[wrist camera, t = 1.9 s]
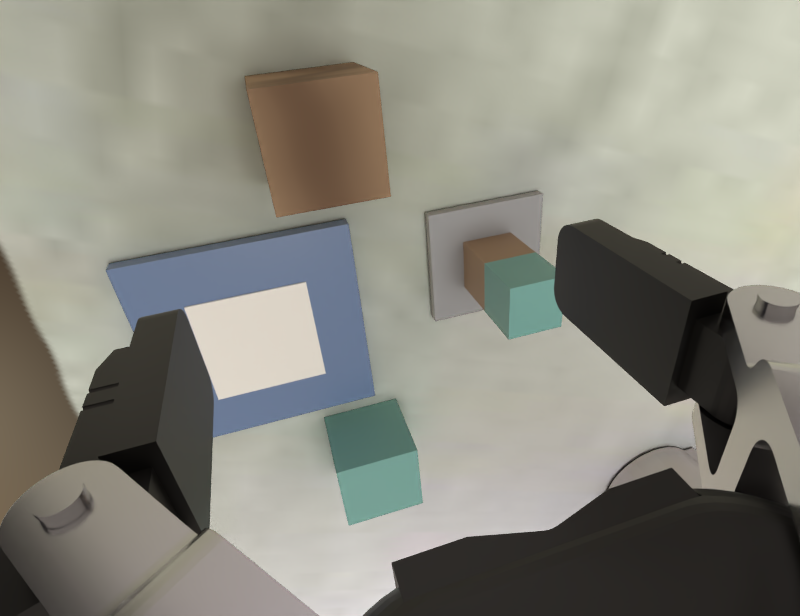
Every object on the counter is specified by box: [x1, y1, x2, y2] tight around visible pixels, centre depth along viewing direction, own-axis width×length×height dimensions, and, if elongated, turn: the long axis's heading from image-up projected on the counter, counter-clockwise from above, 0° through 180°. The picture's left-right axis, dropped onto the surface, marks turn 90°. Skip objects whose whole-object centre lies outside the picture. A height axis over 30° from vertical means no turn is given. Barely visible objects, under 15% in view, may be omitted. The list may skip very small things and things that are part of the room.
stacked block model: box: [425, 191, 562, 339], centre depth 28 cm, size 7×7×7 cm
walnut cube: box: [245, 62, 391, 217], centre depth 22 cm, size 5×5×5 cm
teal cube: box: [324, 399, 423, 525], centre depth 33 cm, size 5×5×5 cm
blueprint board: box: [106, 219, 375, 437], centre depth 29 cm, size 12×12×1 cm
